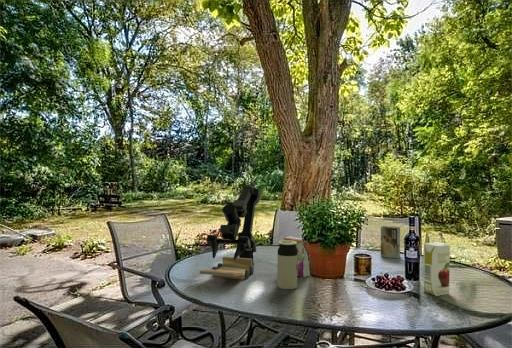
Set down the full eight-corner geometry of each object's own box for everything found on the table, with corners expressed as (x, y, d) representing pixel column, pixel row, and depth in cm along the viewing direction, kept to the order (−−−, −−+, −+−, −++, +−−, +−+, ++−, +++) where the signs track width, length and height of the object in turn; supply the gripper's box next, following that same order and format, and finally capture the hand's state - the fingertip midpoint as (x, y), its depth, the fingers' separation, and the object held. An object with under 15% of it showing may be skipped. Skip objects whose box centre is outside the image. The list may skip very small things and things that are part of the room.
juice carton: (419, 291, 147) (420, 242, 147) (436, 288, 151) (436, 241, 151) (436, 297, 141) (436, 246, 140) (452, 294, 144) (453, 244, 144)
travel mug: (274, 288, 150) (275, 243, 149) (280, 283, 157) (280, 239, 157) (294, 291, 147) (294, 244, 147) (299, 285, 154) (299, 241, 154)
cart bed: (220, 269, 178) (221, 256, 178) (254, 272, 173) (254, 258, 173) (210, 276, 165) (210, 262, 165) (246, 279, 161) (246, 265, 161)
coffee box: (400, 256, 207) (400, 227, 207) (397, 258, 202) (397, 228, 202) (383, 254, 212) (383, 225, 212) (380, 256, 207) (380, 227, 207)
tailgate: (212, 269, 165) (199, 270, 152) (243, 272, 161) (232, 273, 148) (212, 272, 165) (199, 273, 152) (243, 275, 161) (232, 276, 148)
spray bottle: (282, 273, 171) (283, 237, 171) (289, 271, 175) (290, 236, 175) (303, 278, 164) (303, 240, 164) (309, 276, 167) (310, 239, 167)
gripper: (208, 216, 165) (197, 246, 155) (249, 217, 160) (240, 249, 150) (214, 231, 173) (204, 261, 163) (254, 233, 168) (246, 264, 157)
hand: (223, 258), depth 158 cm, fingers open, 9 cm apart
